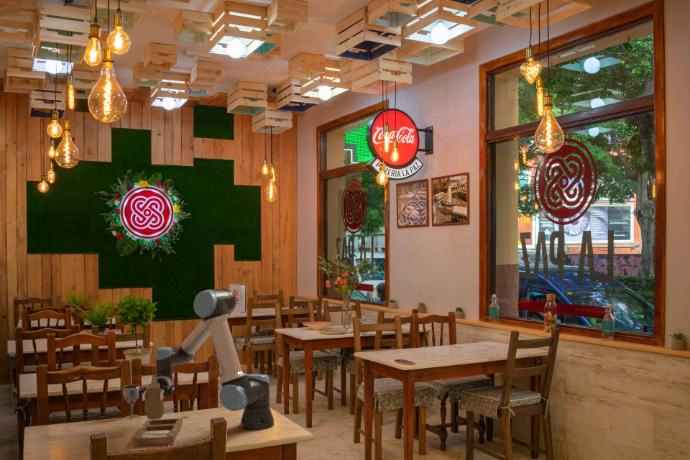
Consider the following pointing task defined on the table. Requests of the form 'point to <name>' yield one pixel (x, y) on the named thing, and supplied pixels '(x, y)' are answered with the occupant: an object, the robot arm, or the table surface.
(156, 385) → the squeeze bottle
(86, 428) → the table surface
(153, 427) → the board
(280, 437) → the table surface
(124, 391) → the wine glass
